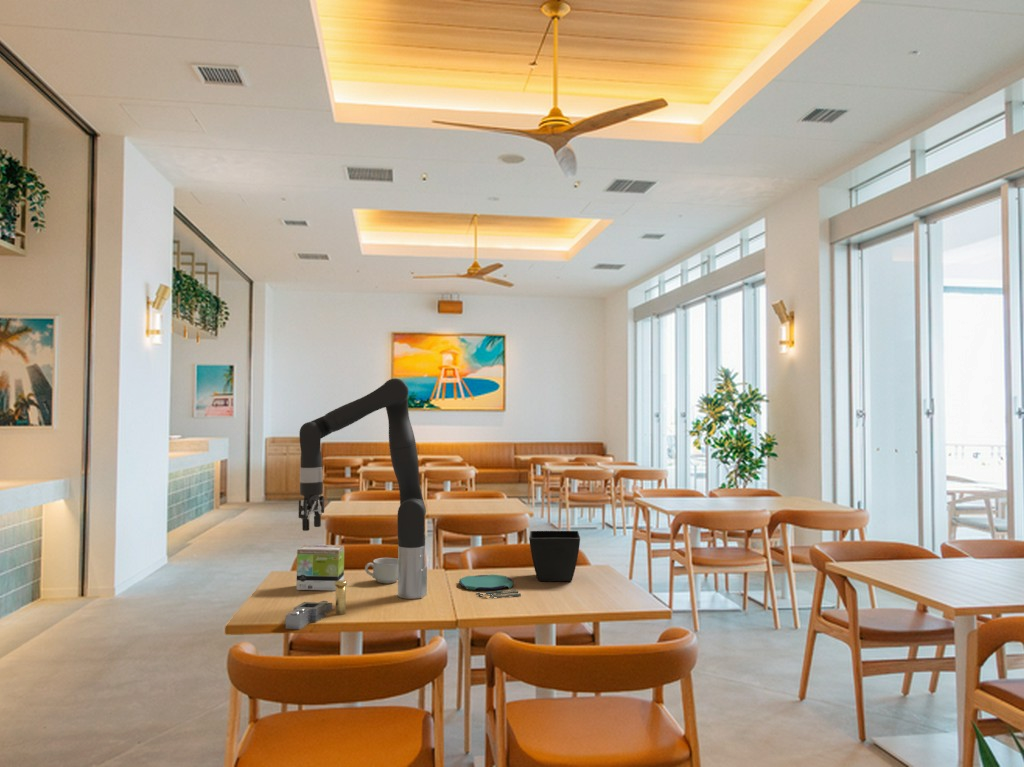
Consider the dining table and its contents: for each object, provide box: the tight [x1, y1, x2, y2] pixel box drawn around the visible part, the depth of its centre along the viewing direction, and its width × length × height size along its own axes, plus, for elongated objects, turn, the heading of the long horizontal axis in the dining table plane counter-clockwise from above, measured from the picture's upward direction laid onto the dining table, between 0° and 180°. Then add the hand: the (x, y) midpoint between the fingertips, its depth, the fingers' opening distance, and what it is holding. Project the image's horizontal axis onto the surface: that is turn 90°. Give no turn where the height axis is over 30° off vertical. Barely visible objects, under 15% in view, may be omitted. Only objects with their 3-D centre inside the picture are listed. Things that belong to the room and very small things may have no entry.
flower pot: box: [528, 530, 581, 582], centre depth 293 cm, size 19×19×17 cm
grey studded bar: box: [285, 600, 333, 630], centre depth 236 cm, size 7×23×5 cm, turn 170°
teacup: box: [364, 557, 398, 584], centre depth 286 cm, size 14×11×8 cm
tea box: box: [296, 544, 345, 592], centre depth 277 cm, size 15×10×15 cm, turn 90°
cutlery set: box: [458, 574, 522, 599], centre depth 276 cm, size 20×30×2 cm, turn 14°
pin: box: [335, 580, 348, 616], centre depth 242 cm, size 4×4×10 cm
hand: (311, 528), depth 260 cm, fingers open, 8 cm apart
